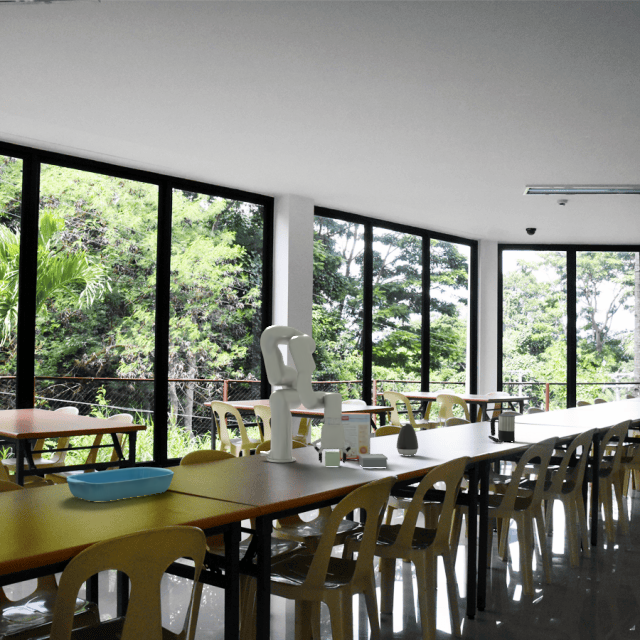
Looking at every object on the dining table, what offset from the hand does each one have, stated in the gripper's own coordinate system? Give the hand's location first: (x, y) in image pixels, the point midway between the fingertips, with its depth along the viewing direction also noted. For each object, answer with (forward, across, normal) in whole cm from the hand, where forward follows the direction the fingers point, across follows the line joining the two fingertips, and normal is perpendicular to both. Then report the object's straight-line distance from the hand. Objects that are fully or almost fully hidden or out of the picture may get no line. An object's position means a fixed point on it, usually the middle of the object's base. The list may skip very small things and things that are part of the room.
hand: (332, 462), depth 289 cm
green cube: (+2, 0, 0) cm, 2 cm away
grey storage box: (+2, +17, -1) cm, 17 cm away
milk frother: (+2, +98, +86) cm, 130 cm away
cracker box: (+2, +11, +19) cm, 22 cm away
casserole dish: (+2, -73, -60) cm, 94 cm away
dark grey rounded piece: (+2, +37, +32) cm, 49 cm away
